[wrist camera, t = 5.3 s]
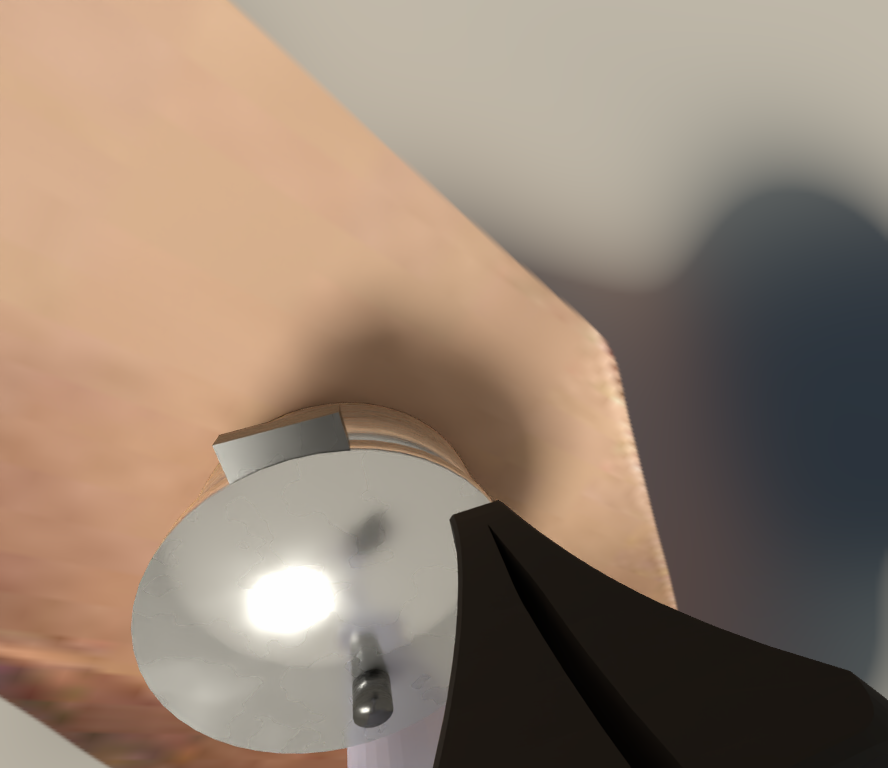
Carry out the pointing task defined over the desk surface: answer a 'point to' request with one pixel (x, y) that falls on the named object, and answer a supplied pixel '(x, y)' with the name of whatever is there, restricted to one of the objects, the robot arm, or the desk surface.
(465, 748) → the robot arm
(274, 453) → the lid
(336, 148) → the desk surface
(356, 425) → the pot
